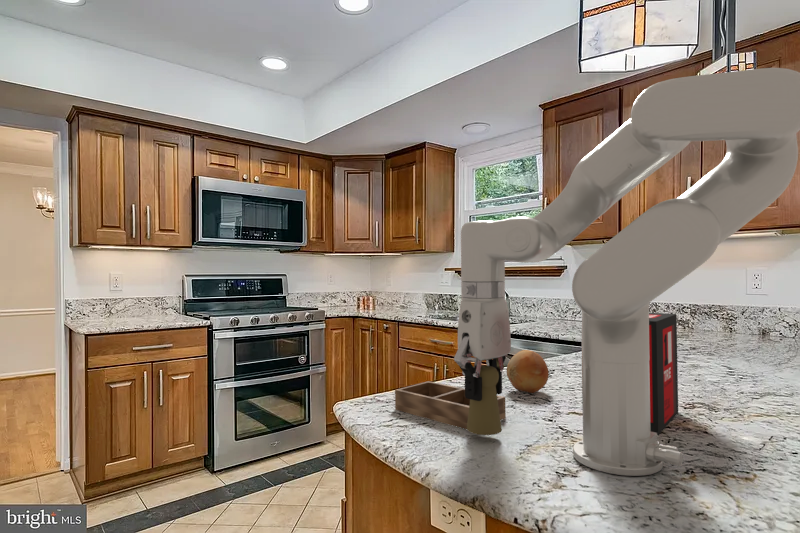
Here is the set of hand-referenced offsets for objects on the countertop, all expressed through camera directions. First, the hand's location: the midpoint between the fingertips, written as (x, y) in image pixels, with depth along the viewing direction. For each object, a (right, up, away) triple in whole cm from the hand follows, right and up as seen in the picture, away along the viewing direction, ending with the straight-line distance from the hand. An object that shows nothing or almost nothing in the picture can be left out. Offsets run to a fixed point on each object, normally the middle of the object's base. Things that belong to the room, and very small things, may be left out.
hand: (483, 394), depth 84 cm
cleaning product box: (+33, -7, +10) cm, 35 cm away
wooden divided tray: (-5, -8, +15) cm, 17 cm away
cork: (0, -6, 0) cm, 6 cm away
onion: (+16, -8, +31) cm, 36 cm away
